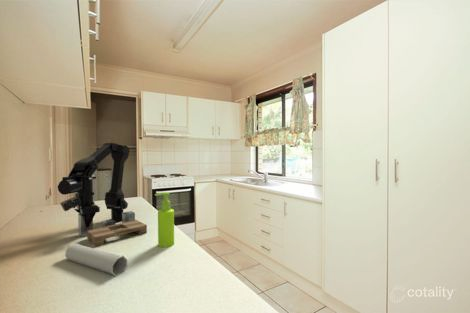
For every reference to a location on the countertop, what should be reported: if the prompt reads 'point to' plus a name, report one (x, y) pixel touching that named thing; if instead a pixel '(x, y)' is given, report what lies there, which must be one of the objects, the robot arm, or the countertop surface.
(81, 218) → the long pin
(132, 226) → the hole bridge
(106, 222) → the grey metal cube
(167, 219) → the soap dispenser
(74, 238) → the countertop surface
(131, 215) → the medium pin
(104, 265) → the tube
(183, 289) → the countertop surface
